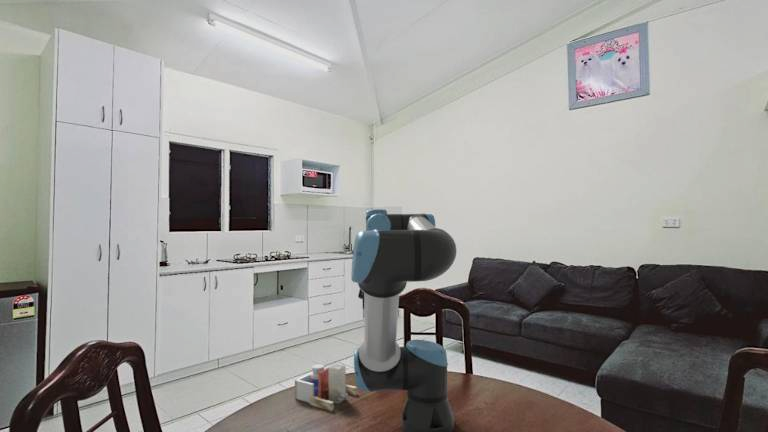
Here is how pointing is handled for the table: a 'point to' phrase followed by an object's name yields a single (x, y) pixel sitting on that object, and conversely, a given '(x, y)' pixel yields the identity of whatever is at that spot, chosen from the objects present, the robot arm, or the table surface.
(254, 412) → the table surface
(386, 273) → the robot arm
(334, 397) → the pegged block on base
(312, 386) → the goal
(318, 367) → the pill bottle
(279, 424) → the table surface
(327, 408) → the lane rails
